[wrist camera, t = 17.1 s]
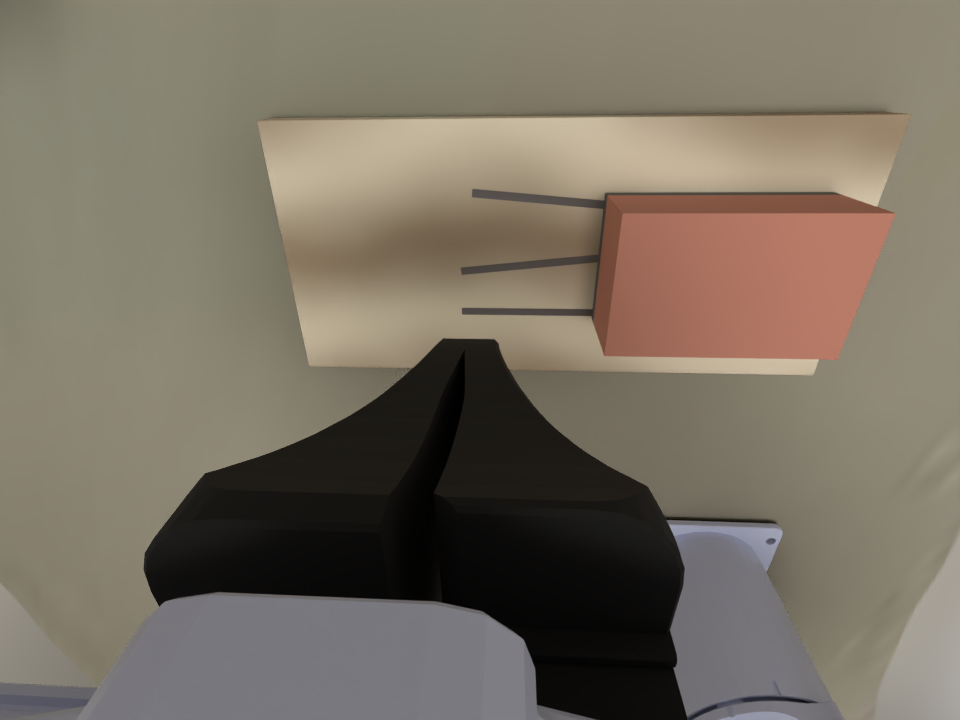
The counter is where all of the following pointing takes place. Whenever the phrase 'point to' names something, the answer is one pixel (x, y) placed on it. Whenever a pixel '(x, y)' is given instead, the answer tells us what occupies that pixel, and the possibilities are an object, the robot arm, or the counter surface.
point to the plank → (519, 220)
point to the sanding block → (733, 273)
